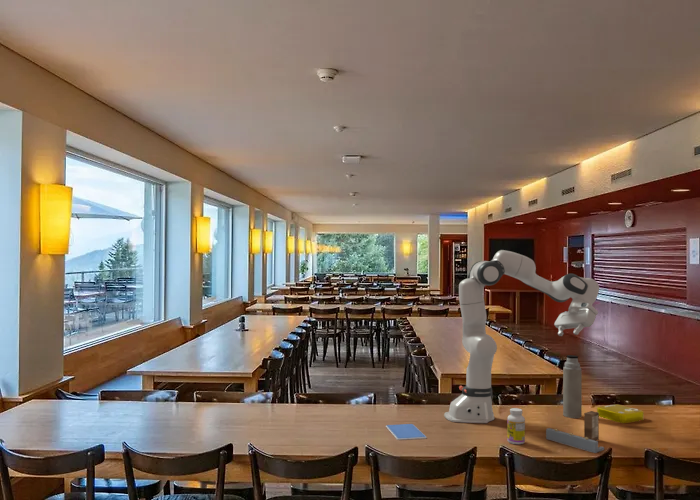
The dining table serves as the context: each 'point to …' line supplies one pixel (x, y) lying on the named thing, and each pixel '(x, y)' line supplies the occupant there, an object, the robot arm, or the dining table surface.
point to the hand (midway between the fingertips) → (567, 334)
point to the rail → (573, 440)
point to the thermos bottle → (572, 388)
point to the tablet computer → (405, 432)
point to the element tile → (620, 413)
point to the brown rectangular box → (591, 425)
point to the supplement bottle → (516, 427)
